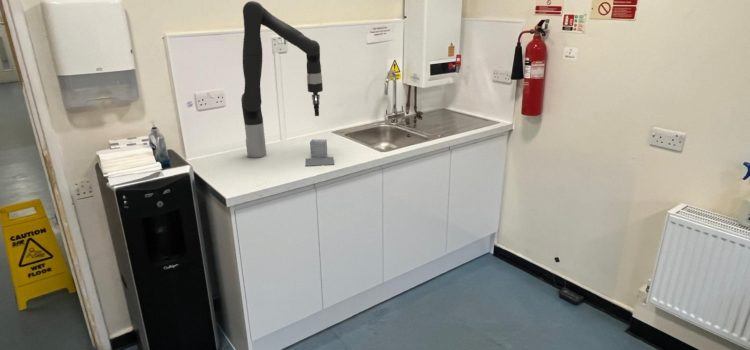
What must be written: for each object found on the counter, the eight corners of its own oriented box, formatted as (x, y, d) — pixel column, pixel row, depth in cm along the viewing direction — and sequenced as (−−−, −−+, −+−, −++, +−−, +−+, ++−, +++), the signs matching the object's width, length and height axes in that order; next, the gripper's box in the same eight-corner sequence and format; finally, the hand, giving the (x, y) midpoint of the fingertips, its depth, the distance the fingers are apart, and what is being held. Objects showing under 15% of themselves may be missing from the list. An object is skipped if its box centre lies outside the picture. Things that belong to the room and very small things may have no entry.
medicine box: (327, 155, 239) (326, 139, 236) (326, 158, 235) (325, 141, 232) (312, 155, 240) (311, 139, 237) (310, 158, 235) (309, 141, 232)
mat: (305, 166, 223) (305, 165, 223) (305, 159, 234) (305, 158, 233) (334, 164, 225) (334, 164, 225) (333, 157, 235) (333, 156, 235)
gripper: (307, 80, 238) (309, 113, 244) (307, 84, 225) (309, 119, 231) (322, 79, 238) (324, 112, 245) (322, 83, 226) (324, 118, 232)
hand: (317, 115), depth 238 cm, fingers closed
